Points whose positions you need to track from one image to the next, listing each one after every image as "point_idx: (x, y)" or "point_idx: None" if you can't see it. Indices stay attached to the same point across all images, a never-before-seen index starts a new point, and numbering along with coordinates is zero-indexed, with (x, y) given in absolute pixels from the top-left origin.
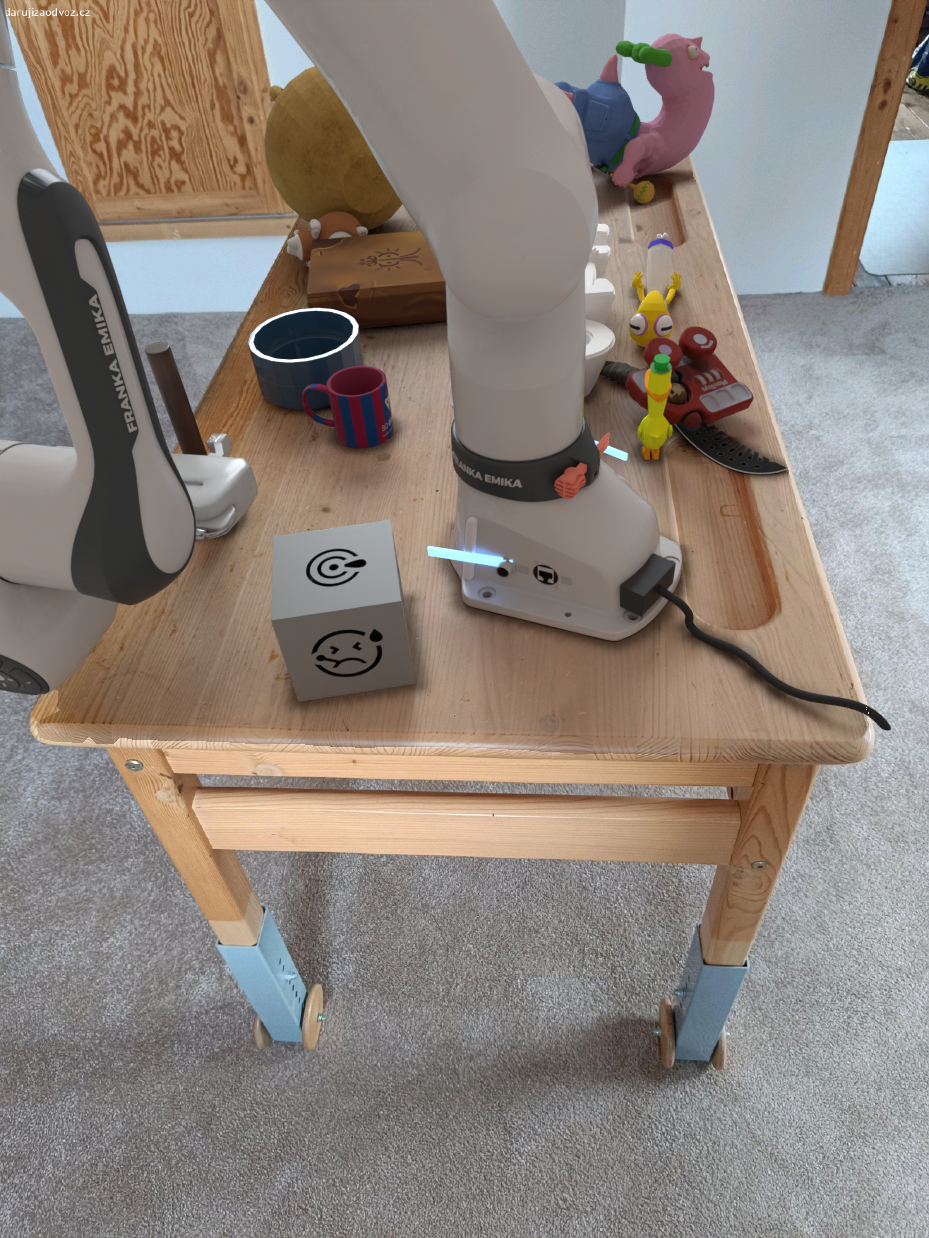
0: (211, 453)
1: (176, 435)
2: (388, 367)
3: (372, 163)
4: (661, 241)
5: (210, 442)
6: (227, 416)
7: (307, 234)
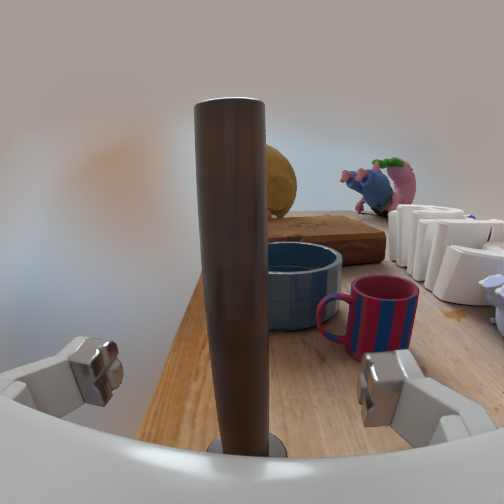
0: (448, 418)
1: (217, 363)
2: (344, 292)
3: (281, 180)
4: (472, 216)
5: (392, 380)
6: (203, 337)
7: None
